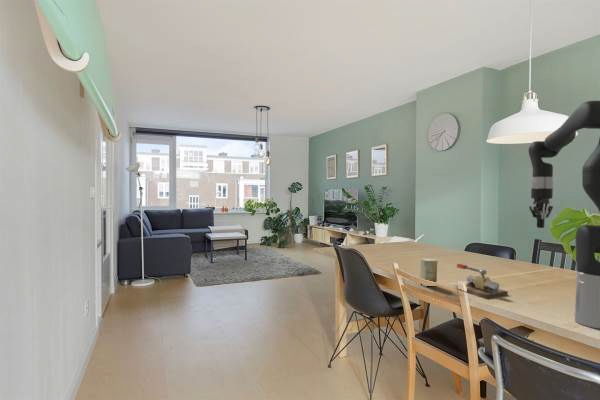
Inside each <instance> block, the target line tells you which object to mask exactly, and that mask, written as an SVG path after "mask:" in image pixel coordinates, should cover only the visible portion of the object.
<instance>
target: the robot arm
mask: <svg viewBox="0 0 600 400" xmlns="http://www.w3.org/2000/svg"><path fill="white" fill-rule="evenodd" d="M582 129H588V130H589V129H592V130H593V129H594V130H595V129H596V130H597V129H599V130H600V100H588V101H584V102H583V103H582V104H580V105H579V106H577V108H576V109H575V110H574V111H573V112H571V114H570V115H569V117H568V118H566V120H565V121H564V122H563V124H561V126H559V127H558V128H557V129H555V130H554V131H552V133H550V134H549V135H547V137H545V139H544V140H542V141H541V140H540V141H539V140H537V141H533V142H532V143H530V145H529V146H528V156H529V159H530V163H531V167H532V178H531V187H530V188H531V189H530V198H531V199H533V202H532V206H531V205H530V206H529V207H528V209H529V211H530V212H531V214H532V217H533V218H535V219H536V228H538V229H544V228H545V220H546V219H548V218H549V217H550V215H551V213H552V211H553V208H554V207H553V206H552V205H550V200H551V199H553V196H554V195H553V191H554V188H553V187H554V177H553V175H554V174H553V173H554V167H553V164H552V163H550V162H549V163H548V162H544V161H543V159H545V158H546V159H549V158H554V157H556V156H558V154H559V153H560V152H561V150H562V149H563V148H564V147H566V146H568V145H569V144H571V143H572V142H573V141H574V140H575V138H576V135H577V131H580V130H582ZM581 170H582V171H581V172H582V173H581V174H582V176H581V177H582V178H581V179H582V187H583V188H582V189H583V190H584V192H585V194H586V195H587V196H588V197H589V199H590V200H591V201H592V202H593V204H594V205H595V207H596V208H597V209H598V213H600V137H599V139H598V143H597V145H596V147H595V148H594V150H593V152H592V153H591V154H590V156H589V157H587V159H586V161H585V162H584V164H583V167H582V169H581ZM595 254H600V225H596V224H595V225H594V224H583V225H579V227H577V230H576V233H575V264H576V278H575V279H576V282H575V284H576V285H575V304H574V305H575V307H574V309H575V310H574V321H575V323H578V324H580V325H583V326H585V327H588V328H589V327H590V328H593V329H599V330H600V261H599V260H598V259H596V255H595Z"/></svg>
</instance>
